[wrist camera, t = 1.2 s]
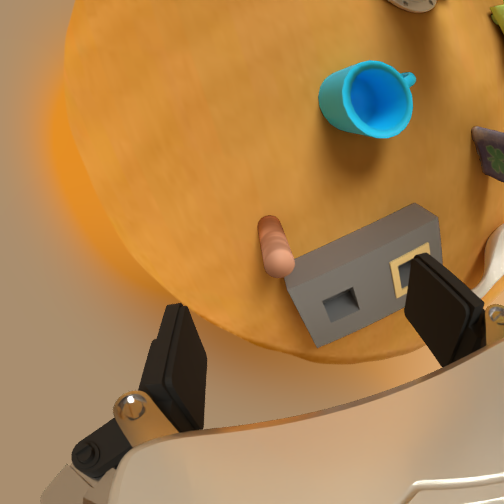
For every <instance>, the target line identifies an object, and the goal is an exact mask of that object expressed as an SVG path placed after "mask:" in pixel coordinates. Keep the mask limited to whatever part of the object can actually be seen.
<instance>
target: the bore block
mask: <svg viewBox="0 0 504 504" xmlns="http://www.w3.org/2000/svg"><path fill="white" fill-rule="evenodd" d="M422 253H428V254H430V255H431V256H432V257H433V258H435V259H436V260H437V261H438V262H439V263H441V264H442V265H443V262H442V249H441V238H440V229H439V221H438V217H437V216H435V215H434V214H432V213H431V212H429V211H428V210H426V209H424V208H423V207H421V206H420V205H418V204H416V203H413V204H411V205H409V206H407V207H405V208H402V209H400V210H398V211H396V212H394V213H392V214H390V215H388V216H386V217H384V218H382V219H380V220H378V221H376V222H373V223H371V224H369V225H367V226H365V227H363V228H361V229H359V230H357V231H354V232H352V233H350V234H348V235H346V236H344V237H342V238H340V239H337V240H335V241H333V242H331V243H329V244H327V245H324V246H322V247H320V248H318V249H316V250H314V251H311V252H309V253H307V254H305V255H303V256H300V257H298V258H296V259H294V260H295V267H294V269H293V271H292V272H291V273H290V274H289V275H288V276H286V277H284V280H285V283H286V287H287V290H288V292H289V294H290V296H291V298H292V300H293V302H294V304H295V306H296V308H297V310H298V312H299V314H300V316H301V318H302V319H303V321H304V323H305V325H306V327H307V329H308V331H309V333H310V335H311V337H312V339H313V341H314V343H315V345H316V347H317V348H319V347H321V346H323V345H326V344H328V343H331V342H333V341H335V340H337V339H340V338H342V337H344V336H346V335H349V334H351V333H353V332H355V331H357V330H360V329H362V328H364V327H366V326H368V325H370V324H372V323H374V322H376V321H378V320H380V319H382V318H384V317H386V316H388V315H390V314H392V313H394V312H396V311H398V310H400V309H402V308H404V307H405V302H406V296H407V289H408V282H409V274H410V265H411V261H412V259H413V258H414V256H415V255H418V254H422Z"/></svg>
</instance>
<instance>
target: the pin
mask: <svg viewBox="0 0 504 504" xmlns="http://www.w3.org/2000/svg"><path fill="white" fill-rule="evenodd" d="M258 233H259V238H260V244H261V250H262V256H263V261H264V267H265V270H266V272H267V273H268V274H269V275H270V276H272V277H275V278H282V277H286V276H288V275H289V274H290V273H291V272H292V271H293V269H294V267H295V260H294V258H293V255H292V252H291V250H290V247H289V244H288V242H287V239H286V236H285V234H284V231H283V228H282V226H281V223H280V221H279V219H278V218H276V217H275V216H271V215H268V216H265V217H263V218H261V219H260V221H259V222H258Z"/></svg>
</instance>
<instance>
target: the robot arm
mask: <svg viewBox="0 0 504 504" xmlns="http://www.w3.org/2000/svg"><path fill="white" fill-rule="evenodd" d="M388 1H389V2H391V3H392V4H394V5H396V6H397V7H399V8H401V9H404V10H406V11H410V12H414V13H423V12H427V11H429V10H431V9H432V8H434V6H435V5H436V1H437V0H388ZM483 306H484V302H483V301H482V300H481V299H480V298H479V297H478V296H477V295H476V294H475V293H474V292H473V291H471V290H470V289H469V288H468V287H467V286H466V285H465V284H464V283H463V282H462V281H460V280H459V279H458V278H457V277H456V276H455V275H454V274H452V273H451V272H450V271H449V270H448V269H447V268H445V267H444V266H443V265H442V264H441V263H439V262H438V261H437V260H436V259H435V258H433V257H432V256H431V255H430V254H428V253H422V254H418V255H415V256H414V258H413V259H412V261H411V265H410V274H409V282H408V289H407V296H406V302H405V308H404V313H405V316H406V318H407V319H408V320H409V322H410V323H411V324H412V326H413V327H414V328H415V330H416V331H417V332H418V334H419V335H420V337H421V338H422V339H423V341H424V342H425V343H426V345H427V346H428V348H429V349H430V350H431V352H432V353H433V355H434V356H435V357H436V359H437V361H438V362H439V363H440V365H441V366H442V367H443V368H441V369H439V370H436V371H434V372H432V373H430V374H427V375H425V376H423V377H420V378H418V379H416V380H413V381H411V382H408V383H406V384H403V385H400V386H398V387H395V388H392V389H390V390H387V391H384V392H381V393H378V394H375V395H372V396H369V397H366V398H363V399H360V400H357V401H354V402H350V403H346V404H343V405H339V406H335V407H332V408H328V409H324V410H320V411H316V412H312V413H307V414H303V415H298V416H293V417H288V418H284V419H277V420H271V421H265V422H259V423H253V424H246V425H239V426H230V427H222V428H212V429H204V430H202V429H203V427H204V407H205V388H206V371H207V356H206V352H205V350H204V347H203V345H202V343H201V340H200V338H199V335H198V333H197V330H196V327H195V325H194V322H193V320H192V317H191V314H190V312H189V309H188V307H187V306H183V305H182V304H181V303H178V304H171V305H167V306H166V309H165V312H164V316H163V319H162V323H161V326H160V329H159V333H158V336H157V339H154V340H153V341H152V343H151V346H150V349H149V353H148V356H147V360H146V363H145V367H144V371H143V374H142V378H141V382H140V386H139V389H138V391H136V390H135V391H129V392H127V393H125V394H123V395H122V396H120V397H119V398H118V399H117V401H116V402H115V404H114V407H113V414H114V417H115V418H113V419H112V420H110V421H109V422H108V423H106V424H105V425H103V426H102V427H100V428H99V429H98V430H96V431H95V432H93V433H92V434H91V435H89V436H87V437H86V438H84V439H83V440H81V441H80V442H79V443H78V444H77V445H76V446H75V448H74V449H73V451H72V462H73V463H72V464H71V465H70V466H69V465H68V464H66V465H65V467H64V468H63V469H62V470H61V471H60V473H59V474H58V475H57V476H56V477H55V478H54V480H53V481H52V482H51V483H50V484H49V486H48V487H47V488H46V489H45V490H44V492H43V493H42V495H41V500H40V501H41V504H504V306H502V305H498V304H493V305H490V306H488V307H487V308H486V310H484V309H483Z"/></svg>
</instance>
